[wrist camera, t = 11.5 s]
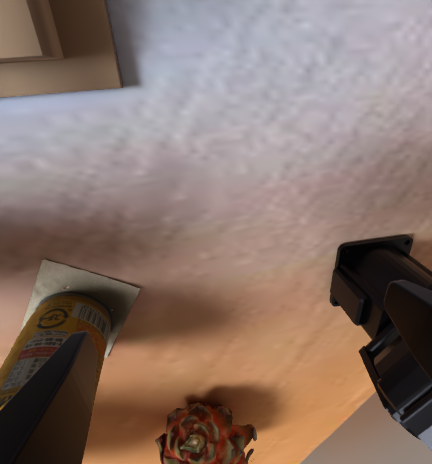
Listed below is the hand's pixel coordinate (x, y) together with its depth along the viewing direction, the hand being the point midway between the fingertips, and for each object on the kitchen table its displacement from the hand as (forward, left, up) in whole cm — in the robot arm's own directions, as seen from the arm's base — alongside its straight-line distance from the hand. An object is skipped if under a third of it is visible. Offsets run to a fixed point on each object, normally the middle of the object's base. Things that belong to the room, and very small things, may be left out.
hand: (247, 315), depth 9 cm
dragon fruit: (+2, +27, -13) cm, 30 cm away
